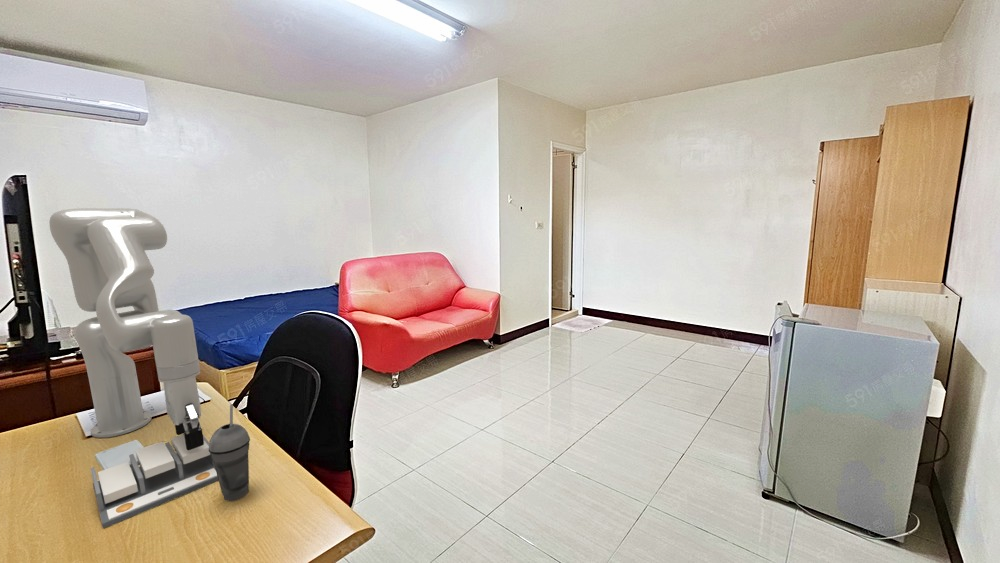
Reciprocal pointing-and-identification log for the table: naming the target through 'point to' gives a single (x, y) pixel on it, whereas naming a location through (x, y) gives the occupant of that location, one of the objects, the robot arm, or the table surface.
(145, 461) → the white rectangular block
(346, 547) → the table surface
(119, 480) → the button
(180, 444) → the button
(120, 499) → the switch console
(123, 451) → the hard drive
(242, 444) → the beverage cup
